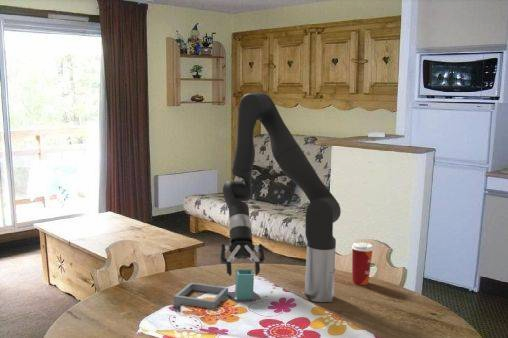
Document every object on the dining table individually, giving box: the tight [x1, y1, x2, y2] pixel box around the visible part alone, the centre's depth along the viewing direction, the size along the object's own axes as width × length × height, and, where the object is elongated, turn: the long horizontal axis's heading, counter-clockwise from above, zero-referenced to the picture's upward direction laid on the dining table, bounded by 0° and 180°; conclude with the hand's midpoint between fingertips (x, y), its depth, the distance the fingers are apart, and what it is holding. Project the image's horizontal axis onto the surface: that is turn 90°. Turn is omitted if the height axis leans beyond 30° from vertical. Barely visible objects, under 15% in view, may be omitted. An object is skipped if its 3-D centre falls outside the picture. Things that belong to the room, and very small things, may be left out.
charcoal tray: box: [173, 282, 229, 310], centre depth 158 cm, size 13×13×4 cm
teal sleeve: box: [234, 269, 255, 300], centre depth 160 cm, size 5×5×8 cm
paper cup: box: [351, 241, 374, 286], centre depth 181 cm, size 8×8×14 cm
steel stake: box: [227, 291, 261, 304], centre depth 160 cm, size 10×10×6 cm
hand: (243, 274), depth 162 cm, fingers open, 8 cm apart
